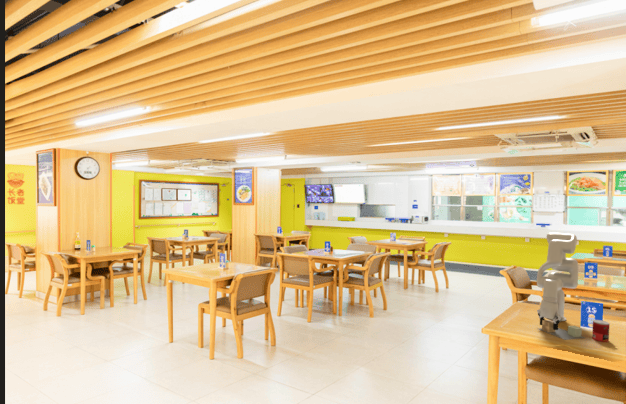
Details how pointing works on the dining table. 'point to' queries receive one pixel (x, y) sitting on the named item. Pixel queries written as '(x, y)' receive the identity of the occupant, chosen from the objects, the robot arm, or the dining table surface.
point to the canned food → (600, 330)
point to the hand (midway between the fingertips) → (548, 327)
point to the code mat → (562, 334)
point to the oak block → (547, 325)
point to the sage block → (575, 331)
